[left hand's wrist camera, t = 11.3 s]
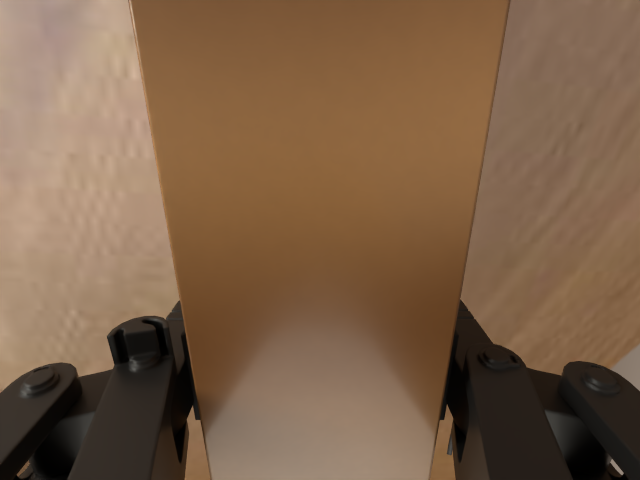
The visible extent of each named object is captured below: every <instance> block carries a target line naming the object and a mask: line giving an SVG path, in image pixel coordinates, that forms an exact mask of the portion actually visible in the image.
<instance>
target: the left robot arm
mask: <svg viewBox="0 0 640 480" xmlns="http://www.w3.org/2000/svg"><path fill="white" fill-rule="evenodd" d="M107 339H108V342H109V346H110V350H111V353H112V357H113V361H114V364H115V366H114V368H113V369H112V370H108V371H104V372H100V373H95V374H91V375H86V376H81V377H79V376H78V373H77V370H76V368H75V367H74V366H73V365H71V364H68V363H54V364H48V365H44V366H42V367H38V368H36V369H33V370H32V371H30V372H28V373H26V374H24V375H22V376H21V377H19V378H18V379H16V380H15V381H14V382H12V383H11V384H10V385H9V386H8V387H7V388H6V389H4V390H3V391H2V392H1V393H0V480H184V478H185V469H186V459H187V449H188V439H189V430H188V424H187V417H188V415H189V413H190V410H191V408H192V406H193V408H194V413H195V419H196V420H200V414H199V408H198V402H197V396H196V390H195V385H194V379H193V373H192V367H191V361H190V356H189V350H188V344H187V338H186V332H185V327H184V321H183V315H182V309H181V303H180V301H178V303H177V304H176V305H175V307H174V308H173V310H172V312H170V314H169V315H168V316H167V318H166V320H165V319H164V318H162V317H158V316H143V317H139V318H134V319H131V320H129V321H126V322H124V323H122V324H120V325H119V326H117V327H116V328H114V329H113V330H112V331H111V332H110V333H109V334H108V336H107ZM447 405H448V407H449V409H450V412H451V414H452V416H453V424H452V429H451V434H450V439H449V445H448V451H447V454H448V455H452V450H453V458H454V468H455V478H456V480H640V391H639V390H638V389H636V388H635V387H634V386H633V385H632V384H631V383H630V382H629V381H627V380H626V379H625V378H623V377H622V376H621V375H619V374H618V373H616V372H614V371H612V370H610V369H608V368H606V367H604V366H601V365H597V364H594V363H590V362H582V361H576V362H569V363H568V364H567V365H566V366H564V369H563V372H562V375H556V374H551V373H547V372H542V371H537V370H533V369H530V368H526V365H525V364H524V362H523V361H522V359H521V358H520V357H519V356H518V355H516V354H515V353H514V352H512V351H511V350H509V349H507V348H504V347H502V346H500V345H496V344H493V343H492V341H491V340H490V339H489V337H488V336H487V335H486V333H485V332H484V330H483V329H482V328H481V326H480V325H479V324H478V322H477V321H476V320H475V319H474V317H473V315H472V314H471V313H470V311H468V309H467V307H466V306H465V305H464V303H463V302H462V300H460V302H459V308H458V314H457V320H456V326H455V332H454V338H453V344H452V350H451V356H450V362H449V368H448V374H447V380H446V385H445V391H444V397H443V403H442V409H441V415H440V420H444V417H445V412H446V406H447ZM611 459H613V460H614V461H615V463H616V464H617V465H618V466H619V468H620V469H621V470H622V471H623V472H624V474H623V475H621V474H620V473H619V472H618V471H617V470H616V469H615V468H614V467H613V466H612V464H611V463H610V461H611ZM28 460H29V462H30V465H29V466H28V467H27V468H26V470H25V471H24V472H23V473H22V474H21V475H20V476H19V477H18V476H17V473H18V472H19V471H20V470H21V468H22V467H23V466H24V465H25V463H26V462H27V461H28Z"/></svg>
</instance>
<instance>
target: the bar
mask: <svg viewBox="0 0 640 480" xmlns="http://www.w3.org/2000/svg"><path fill="white" fill-rule="evenodd" d="M128 1H129V7H130V13H131V19H132V25H133V30H134V36H135V42H136V48H137V54H138V59H139V65H140V71H141V77H142V83H143V88H144V94H145V100H146V106H147V112H148V117H149V123H150V129H151V135H152V141H153V146H154V152H155V158H156V164H157V170H158V176H159V181H160V187H161V193H162V199H163V205H164V210H165V216H166V222H167V228H168V234H169V239H170V245H171V251H172V257H173V263H174V268H175V274H176V280H177V286H178V292H179V298H180V303H181V309H182V315H183V321H184V327H185V332H186V338H187V344H188V350H189V356H190V361H191V367H192V373H193V379H194V385H195V390H196V396H197V402H198V408H199V414H200V420H201V425H202V431H203V437H204V443H205V449H206V454H207V460H208V466H209V472H210V478H211V480H430V474H431V469H432V463H433V457H434V451H435V445H436V439H437V433H438V427H439V421H440V415H441V409H442V403H443V397H444V391H445V385H446V380H447V374H448V368H449V362H450V356H451V350H452V344H453V338H454V332H455V326H456V320H457V314H458V308H459V302H460V296H461V291H462V285H463V279H464V273H465V267H466V261H467V255H468V249H469V243H470V237H471V231H472V225H473V219H474V213H475V207H476V201H477V196H478V190H479V184H480V178H481V172H482V166H483V160H484V154H485V148H486V142H487V136H488V130H489V124H490V118H491V112H492V107H493V101H494V95H495V89H496V83H497V77H498V71H499V65H500V59H501V53H502V47H503V41H504V35H505V29H506V23H507V18H508V12H509V6H510V0H128Z"/></svg>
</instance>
